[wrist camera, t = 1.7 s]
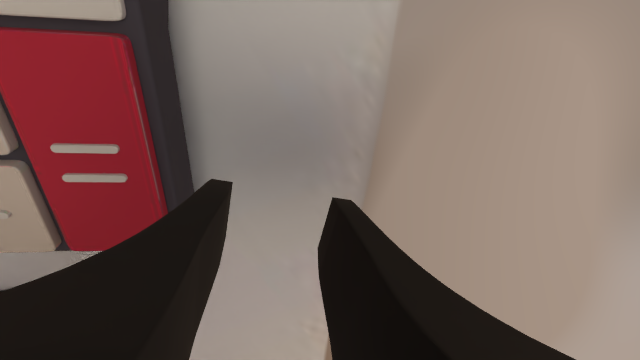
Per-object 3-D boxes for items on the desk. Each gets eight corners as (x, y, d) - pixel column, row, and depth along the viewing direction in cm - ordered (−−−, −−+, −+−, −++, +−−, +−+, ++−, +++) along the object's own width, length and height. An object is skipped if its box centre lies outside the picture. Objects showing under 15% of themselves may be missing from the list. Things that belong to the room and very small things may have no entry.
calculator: (-64, 265, 15) (-410, -203, 8) (3, 210, 19) (-185, -144, 11) (182, 260, 17) (99, -147, 9) (200, 209, 20) (152, -110, 13)
